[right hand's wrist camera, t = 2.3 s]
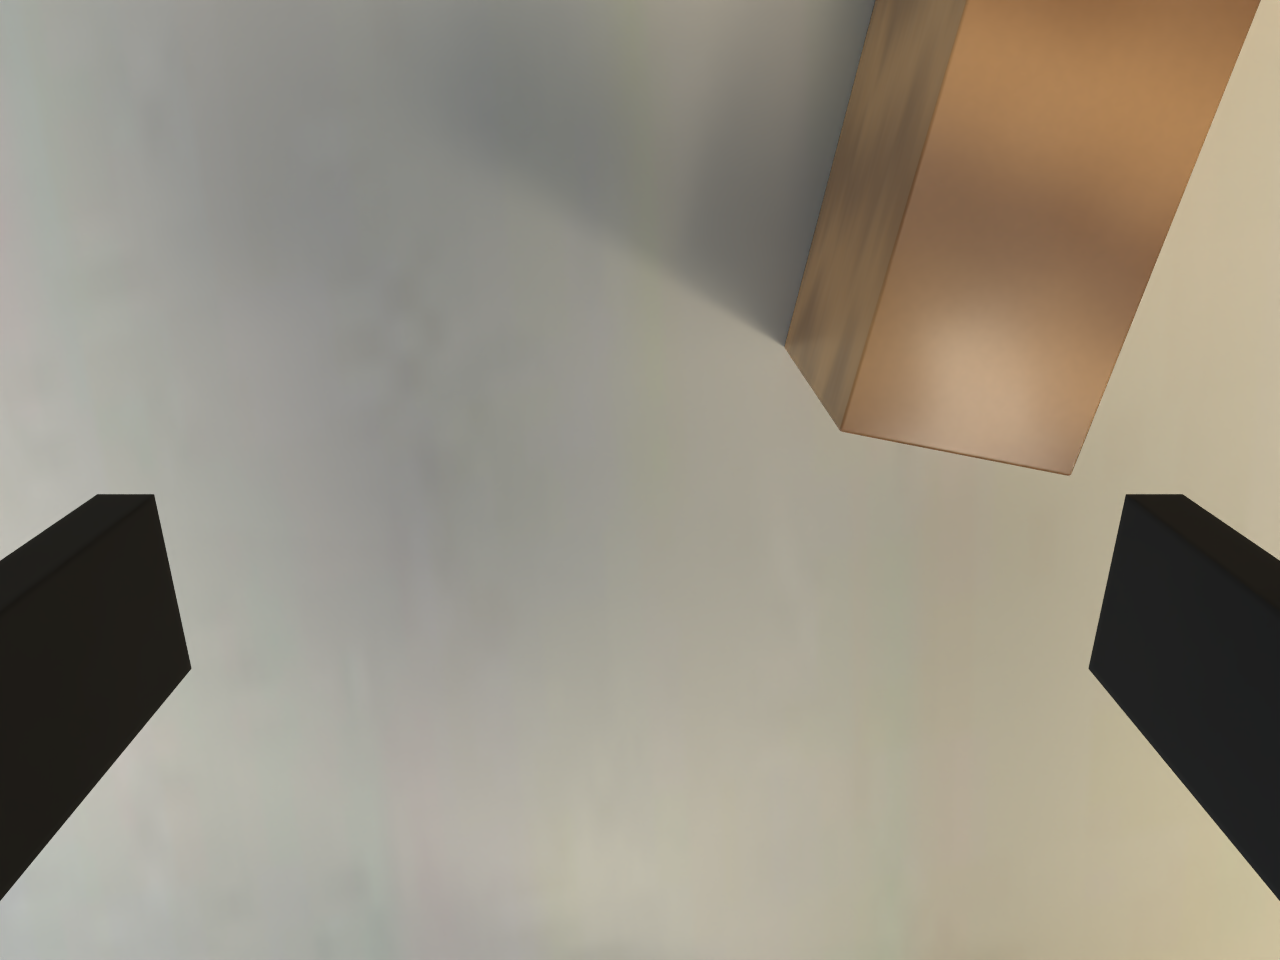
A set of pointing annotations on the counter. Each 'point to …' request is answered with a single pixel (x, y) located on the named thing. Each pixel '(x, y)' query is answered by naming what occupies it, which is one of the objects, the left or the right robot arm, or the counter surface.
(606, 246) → the counter surface
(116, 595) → the right robot arm
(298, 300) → the counter surface
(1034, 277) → the post
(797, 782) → the counter surface
